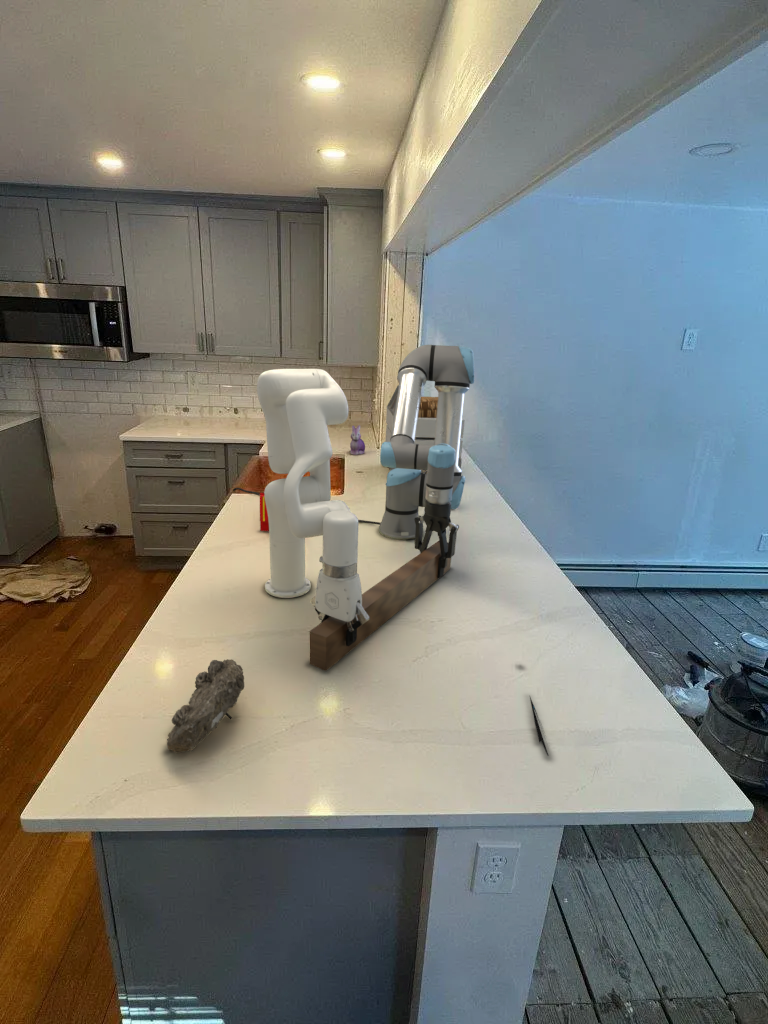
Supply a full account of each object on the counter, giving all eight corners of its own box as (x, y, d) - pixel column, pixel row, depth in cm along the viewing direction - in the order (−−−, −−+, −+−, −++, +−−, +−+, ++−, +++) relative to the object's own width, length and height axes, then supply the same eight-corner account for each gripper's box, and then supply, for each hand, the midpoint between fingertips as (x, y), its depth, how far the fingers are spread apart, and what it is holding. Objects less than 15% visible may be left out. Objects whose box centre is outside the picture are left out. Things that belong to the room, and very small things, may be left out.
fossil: (192, 660, 117) (244, 628, 112) (224, 691, 120) (276, 661, 115) (142, 746, 98) (202, 712, 93) (182, 779, 101) (242, 748, 96)
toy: (300, 481, 221) (289, 494, 192) (300, 514, 224) (289, 533, 194) (268, 480, 221) (253, 493, 191) (269, 514, 223) (254, 532, 194)
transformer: (382, 463, 289) (386, 382, 275) (445, 464, 293) (451, 384, 279) (390, 482, 257) (394, 392, 243) (460, 483, 261) (468, 394, 247)
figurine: (353, 455, 301) (353, 427, 296) (345, 451, 309) (345, 424, 304) (369, 454, 305) (370, 426, 300) (361, 450, 314) (361, 423, 308)
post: (436, 565, 177) (439, 540, 174) (450, 568, 175) (452, 543, 172) (309, 664, 125) (309, 630, 122) (326, 671, 123) (326, 637, 120)
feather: (521, 671, 128) (526, 665, 127) (548, 760, 101) (555, 753, 101) (514, 667, 128) (520, 661, 127) (540, 755, 101) (547, 748, 101)
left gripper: (297, 563, 124) (298, 634, 130) (363, 584, 116) (361, 659, 122) (318, 551, 130) (318, 620, 137) (382, 571, 122) (379, 643, 128)
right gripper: (404, 497, 162) (400, 571, 170) (461, 510, 154) (454, 587, 162) (417, 491, 169) (412, 562, 176) (472, 503, 160) (464, 577, 168)
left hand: (338, 637), depth 129 cm, fingers open, 6 cm apart
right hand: (432, 574), depth 169 cm, fingers closed on post, 5 cm apart
